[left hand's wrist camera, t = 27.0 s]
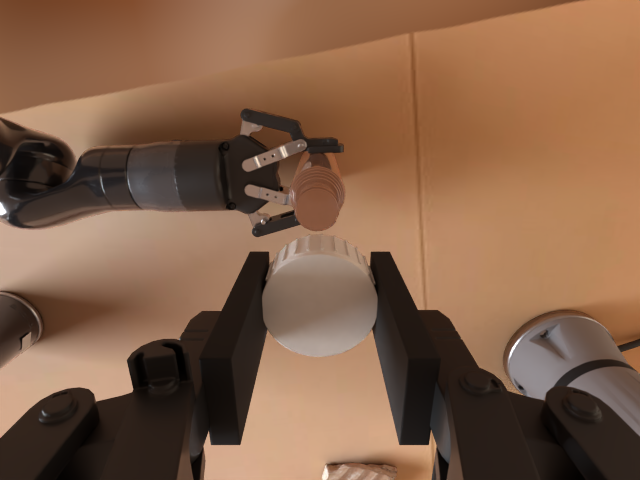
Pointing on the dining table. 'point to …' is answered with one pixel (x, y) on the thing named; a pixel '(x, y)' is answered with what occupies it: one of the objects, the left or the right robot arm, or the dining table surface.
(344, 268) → the cap
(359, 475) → the stone
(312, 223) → the bottle
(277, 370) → the dining table surface
